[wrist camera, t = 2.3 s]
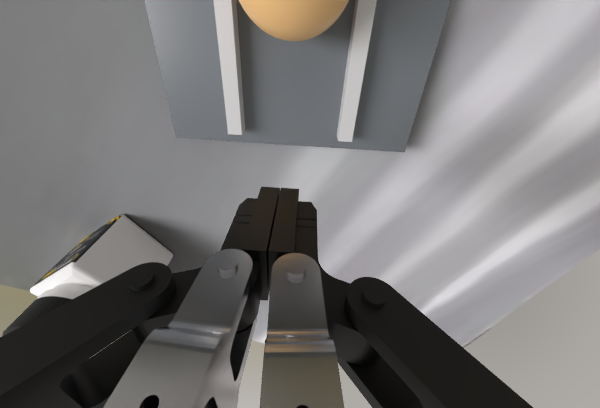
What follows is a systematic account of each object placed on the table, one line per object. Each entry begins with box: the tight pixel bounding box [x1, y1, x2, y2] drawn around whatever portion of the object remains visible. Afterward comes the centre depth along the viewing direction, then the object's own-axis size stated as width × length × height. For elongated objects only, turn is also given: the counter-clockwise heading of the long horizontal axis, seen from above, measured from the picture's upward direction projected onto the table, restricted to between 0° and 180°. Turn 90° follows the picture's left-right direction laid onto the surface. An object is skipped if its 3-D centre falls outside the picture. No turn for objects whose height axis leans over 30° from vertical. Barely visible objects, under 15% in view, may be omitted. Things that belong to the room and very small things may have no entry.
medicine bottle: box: [3, 214, 173, 362], centre depth 24 cm, size 7×7×12 cm
